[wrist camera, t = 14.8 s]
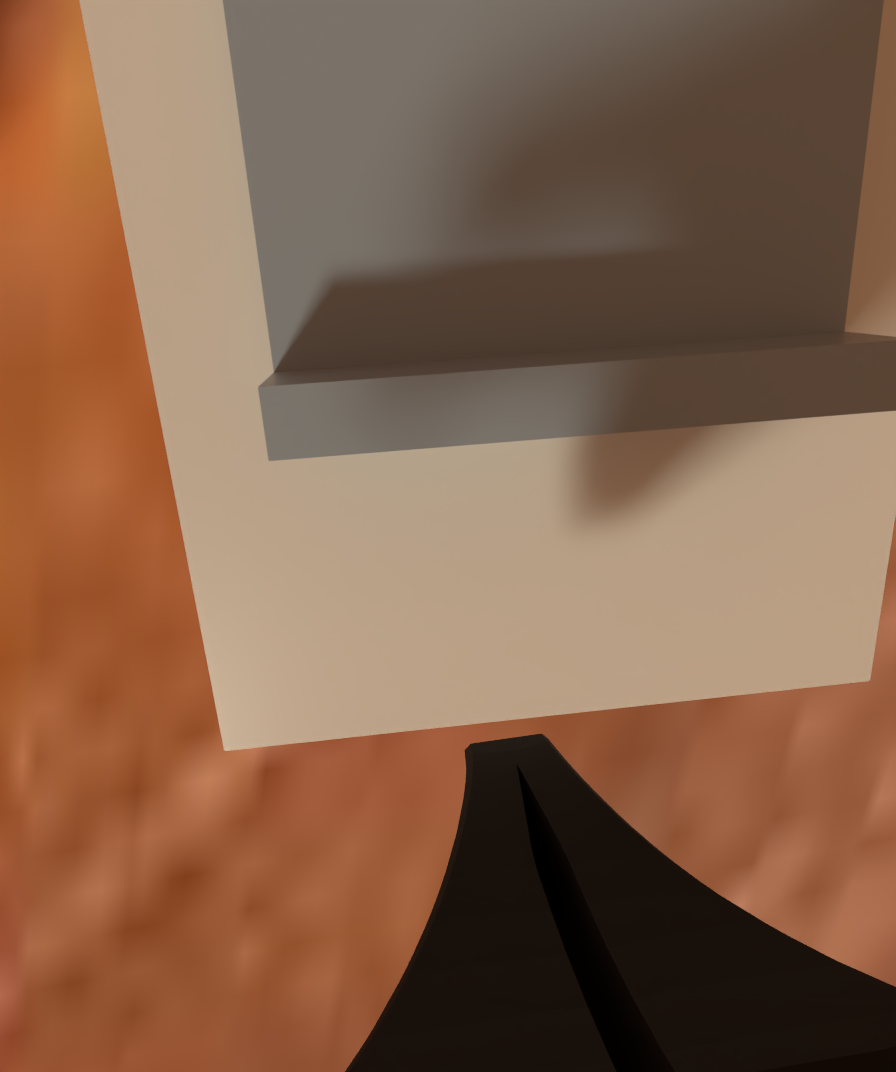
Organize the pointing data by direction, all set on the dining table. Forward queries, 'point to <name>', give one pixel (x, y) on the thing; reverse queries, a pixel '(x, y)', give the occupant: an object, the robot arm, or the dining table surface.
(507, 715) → the housing
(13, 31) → the dining table surface
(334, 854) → the dining table surface
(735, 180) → the cover
